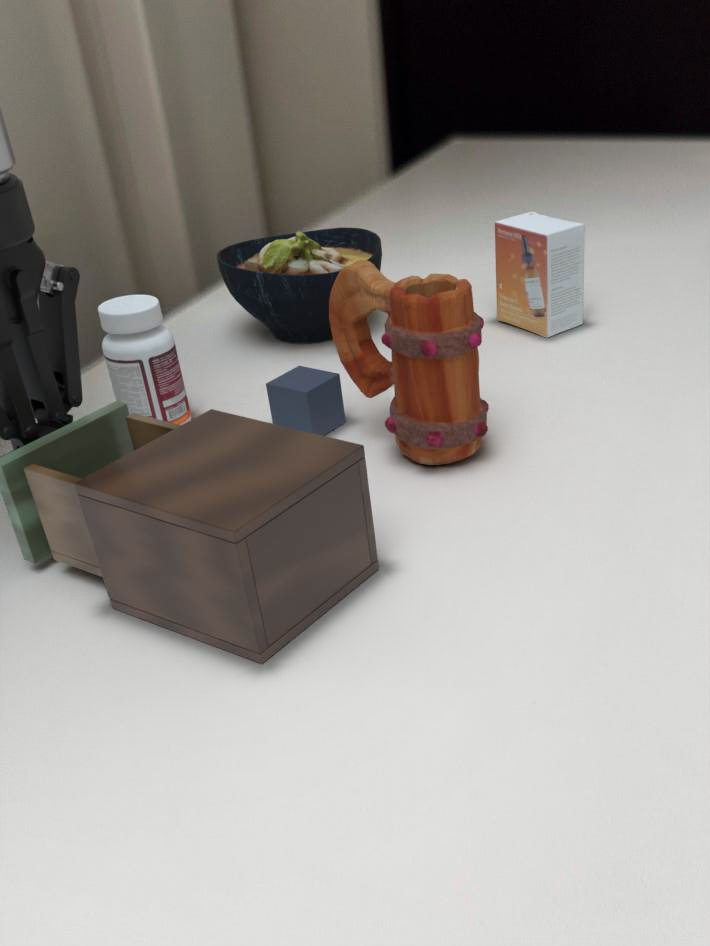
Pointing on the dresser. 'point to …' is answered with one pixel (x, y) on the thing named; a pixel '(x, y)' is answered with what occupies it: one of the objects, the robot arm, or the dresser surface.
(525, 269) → the small box
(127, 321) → the pill bottle
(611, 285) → the dresser surface
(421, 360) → the mug
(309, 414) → the block
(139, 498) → the cabinet
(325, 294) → the bowl
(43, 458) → the drawer
